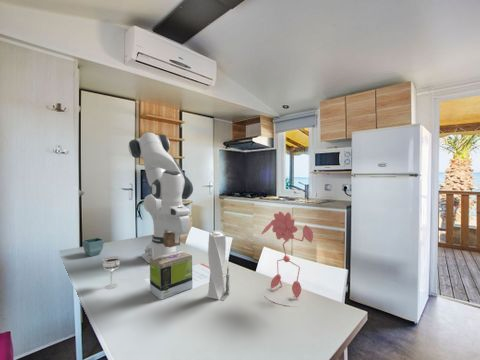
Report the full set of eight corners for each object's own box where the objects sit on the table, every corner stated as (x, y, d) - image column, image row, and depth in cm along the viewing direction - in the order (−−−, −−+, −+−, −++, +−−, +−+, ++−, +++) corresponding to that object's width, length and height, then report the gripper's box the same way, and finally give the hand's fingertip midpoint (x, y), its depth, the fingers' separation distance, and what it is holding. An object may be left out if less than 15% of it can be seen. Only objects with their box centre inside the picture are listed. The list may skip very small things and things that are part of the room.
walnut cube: (163, 245, 103) (163, 233, 103) (173, 242, 107) (173, 231, 107) (169, 247, 100) (169, 235, 100) (180, 244, 104) (180, 233, 104)
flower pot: (97, 251, 153) (97, 237, 153) (104, 254, 148) (104, 239, 148) (82, 255, 146) (82, 240, 146) (88, 258, 141) (88, 242, 141)
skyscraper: (222, 303, 94) (223, 232, 94) (203, 299, 97) (204, 230, 96) (230, 293, 102) (231, 227, 102) (213, 290, 105) (213, 225, 104)
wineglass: (113, 281, 111) (113, 255, 111) (123, 284, 108) (123, 258, 108) (99, 287, 105) (99, 260, 105) (109, 291, 102) (109, 263, 102)
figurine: (268, 279, 116) (268, 206, 114) (319, 300, 98) (320, 213, 96) (246, 291, 105) (246, 210, 103) (298, 316, 87) (300, 219, 85)
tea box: (180, 281, 113) (181, 249, 112) (192, 288, 106) (193, 254, 105) (149, 291, 102) (149, 256, 102) (160, 300, 95) (160, 263, 95)
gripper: (152, 207, 108) (152, 238, 108) (179, 212, 94) (179, 247, 94) (165, 206, 112) (165, 235, 113) (192, 210, 99) (192, 244, 99)
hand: (171, 241), depth 103 cm, fingers closed on walnut cube, 5 cm apart
